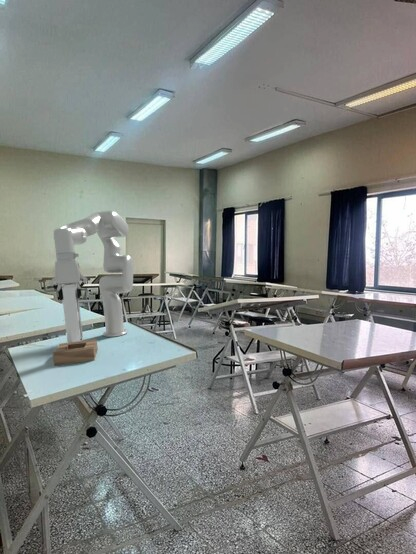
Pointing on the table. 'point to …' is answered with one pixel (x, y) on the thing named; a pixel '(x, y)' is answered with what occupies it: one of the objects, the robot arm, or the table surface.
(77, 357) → the socket block
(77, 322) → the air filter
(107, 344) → the table surface
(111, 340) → the table surface
